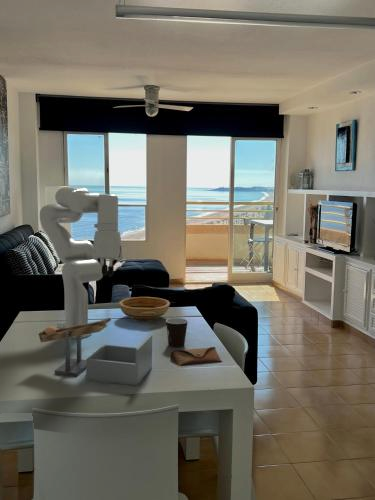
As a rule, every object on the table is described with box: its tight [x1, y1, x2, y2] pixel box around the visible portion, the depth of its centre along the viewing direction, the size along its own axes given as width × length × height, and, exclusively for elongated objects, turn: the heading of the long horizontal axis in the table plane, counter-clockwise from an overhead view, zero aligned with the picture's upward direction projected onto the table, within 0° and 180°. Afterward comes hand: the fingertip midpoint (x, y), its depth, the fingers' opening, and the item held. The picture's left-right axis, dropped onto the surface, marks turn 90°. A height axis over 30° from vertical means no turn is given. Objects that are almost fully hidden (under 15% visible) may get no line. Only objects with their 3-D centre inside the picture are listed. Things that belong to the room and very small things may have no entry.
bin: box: [85, 334, 153, 387], centre depth 163 cm, size 18×16×12 cm
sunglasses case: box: [170, 346, 223, 367], centre depth 178 cm, size 18×7×7 cm
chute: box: [38, 317, 112, 343], centre depth 170 cm, size 22×17×3 cm
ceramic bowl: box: [118, 296, 171, 323], centre depth 231 cm, size 30×24×8 cm
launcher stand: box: [54, 325, 86, 377], centre depth 166 cm, size 8×12×14 cm, turn 167°
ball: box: [44, 325, 57, 335], centre depth 167 cm, size 4×4×4 cm
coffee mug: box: [165, 317, 188, 349], centre depth 195 cm, size 12×9×10 cm
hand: (107, 275), depth 183 cm, fingers closed
